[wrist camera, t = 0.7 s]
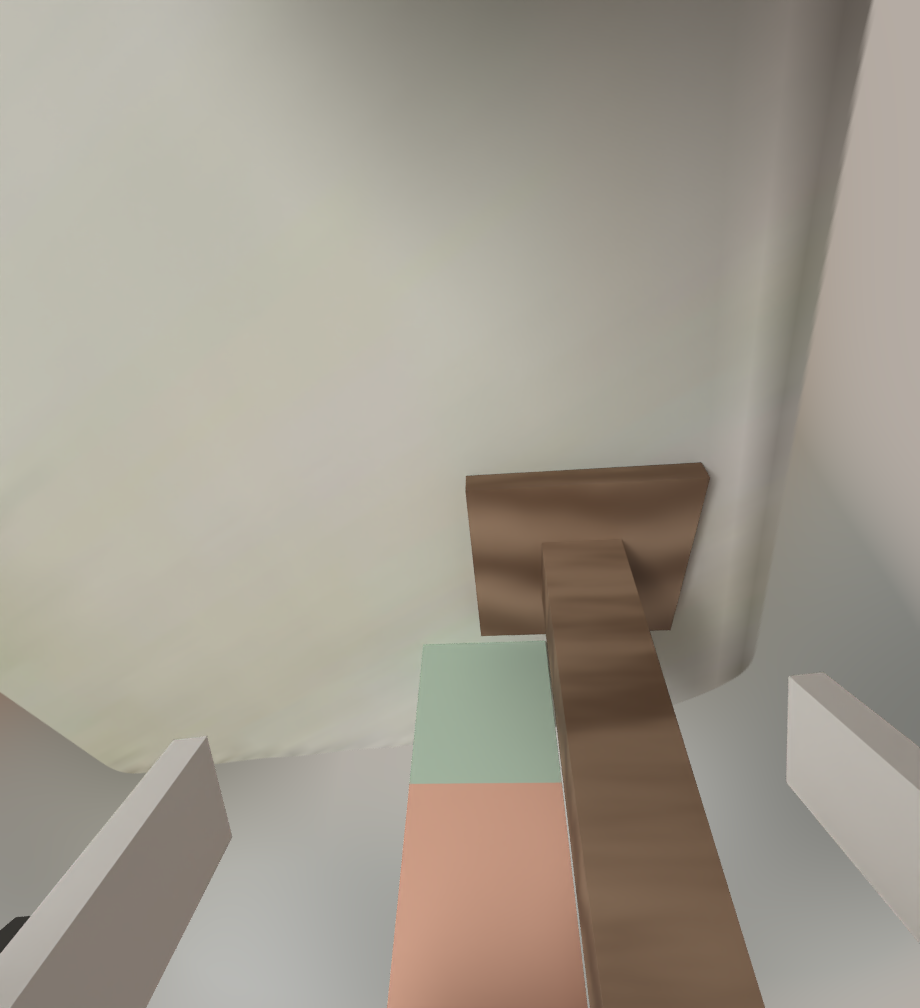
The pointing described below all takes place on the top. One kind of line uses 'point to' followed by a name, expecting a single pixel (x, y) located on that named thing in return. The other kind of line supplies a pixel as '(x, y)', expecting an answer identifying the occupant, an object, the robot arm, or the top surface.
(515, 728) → the bottom block
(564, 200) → the top surface
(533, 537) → the wooden stand
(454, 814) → the top block
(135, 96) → the top surface
